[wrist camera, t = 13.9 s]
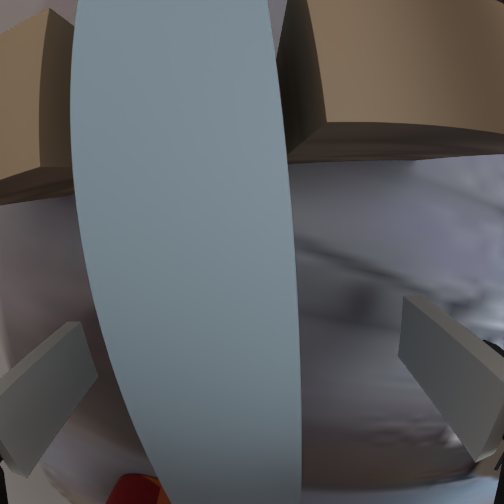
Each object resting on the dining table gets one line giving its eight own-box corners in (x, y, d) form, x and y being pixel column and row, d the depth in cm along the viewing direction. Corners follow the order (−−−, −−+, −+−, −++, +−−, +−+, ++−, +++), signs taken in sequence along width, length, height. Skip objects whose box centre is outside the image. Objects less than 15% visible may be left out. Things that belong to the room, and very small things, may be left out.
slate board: (183, 25, 12) (111, -119, 2) (246, 17, 12) (237, -144, 2) (239, 468, 18) (234, 596, 8) (284, 465, 17) (296, 593, 8)
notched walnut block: (408, 100, 13) (562, 37, 3) (416, 160, 13) (588, 153, 4) (51, 141, 13) (-108, 127, 3) (55, 197, 14) (-107, 228, 4)
